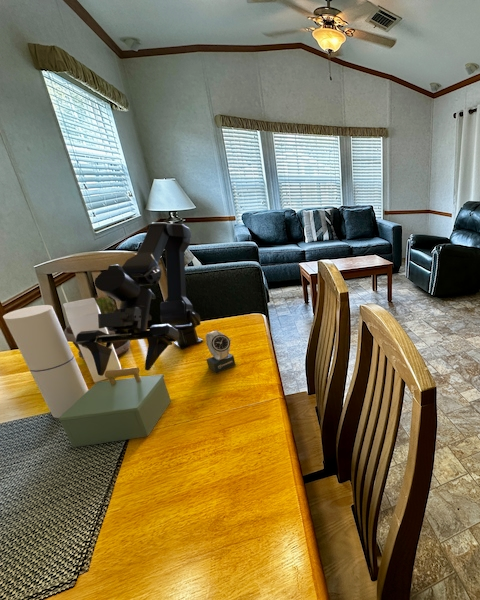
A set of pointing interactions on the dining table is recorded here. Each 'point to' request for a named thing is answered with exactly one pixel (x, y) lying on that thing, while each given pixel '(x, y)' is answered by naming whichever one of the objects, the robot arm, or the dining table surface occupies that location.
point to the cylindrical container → (47, 356)
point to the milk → (86, 319)
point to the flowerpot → (106, 307)
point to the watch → (219, 352)
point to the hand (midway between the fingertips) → (124, 372)
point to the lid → (114, 395)
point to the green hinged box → (119, 422)
